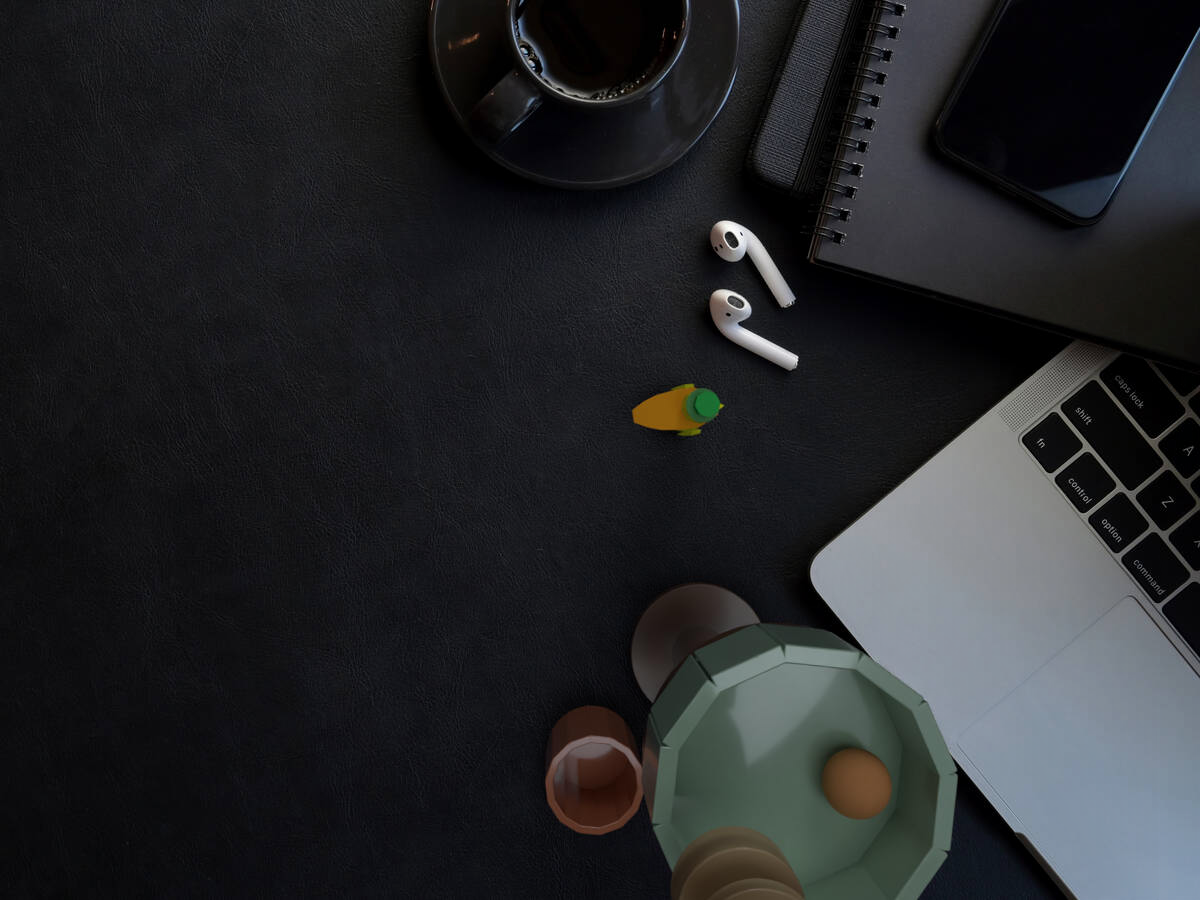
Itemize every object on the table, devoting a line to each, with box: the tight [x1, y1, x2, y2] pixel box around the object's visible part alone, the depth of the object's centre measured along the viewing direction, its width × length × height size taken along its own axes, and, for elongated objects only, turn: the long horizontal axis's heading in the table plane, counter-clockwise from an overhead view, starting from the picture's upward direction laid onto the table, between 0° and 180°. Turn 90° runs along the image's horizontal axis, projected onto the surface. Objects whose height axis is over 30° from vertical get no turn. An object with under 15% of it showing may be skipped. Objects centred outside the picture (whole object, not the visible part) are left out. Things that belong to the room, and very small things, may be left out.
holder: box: [544, 705, 644, 836], centre depth 64 cm, size 6×6×8 cm
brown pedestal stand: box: [629, 581, 815, 766], centre depth 56 cm, size 13×13×25 cm
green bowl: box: [641, 622, 959, 900], centre depth 41 cm, size 13×13×5 cm
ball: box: [822, 748, 892, 820], centre depth 41 cm, size 3×3×3 cm
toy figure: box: [632, 383, 725, 437], centre depth 63 cm, size 7×4×12 cm, turn 98°
